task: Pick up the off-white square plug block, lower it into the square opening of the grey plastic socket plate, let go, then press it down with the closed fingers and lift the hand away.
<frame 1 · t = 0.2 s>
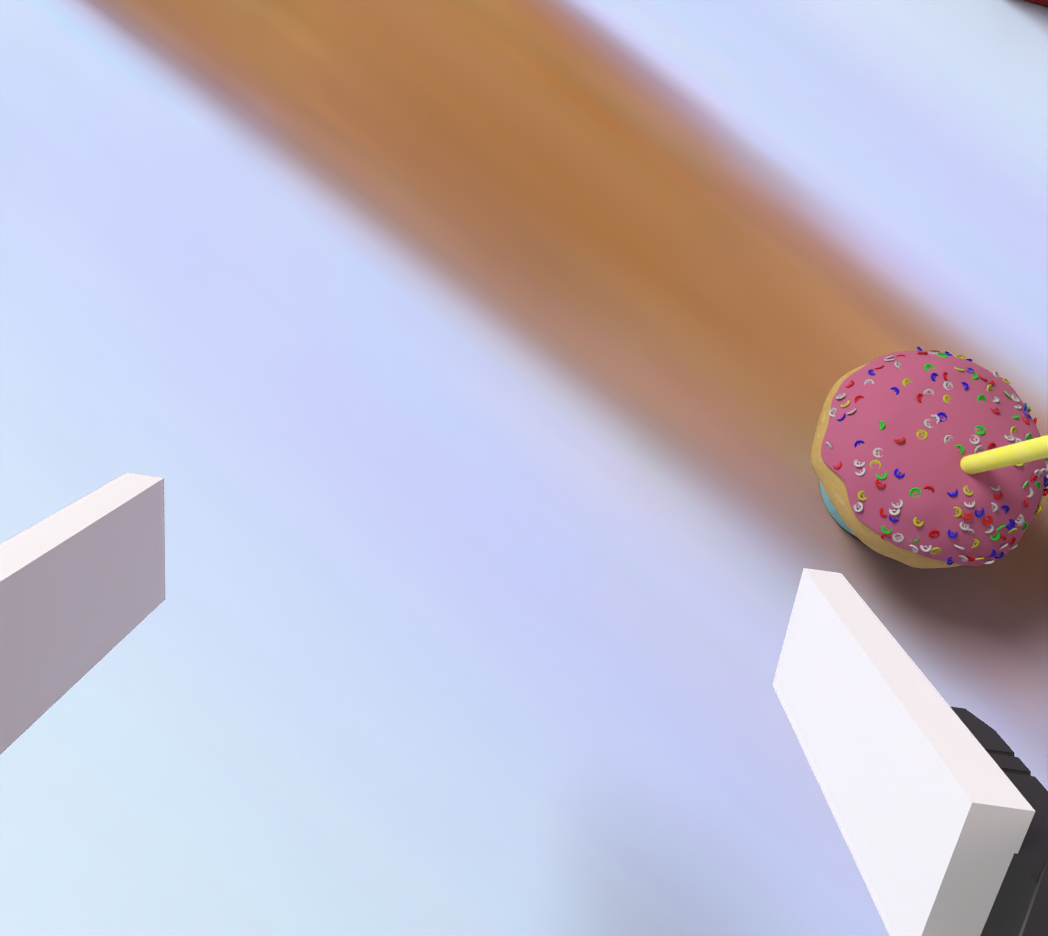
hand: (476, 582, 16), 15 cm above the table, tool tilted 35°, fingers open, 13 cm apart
cupcake: (867, 489, 33), on the table
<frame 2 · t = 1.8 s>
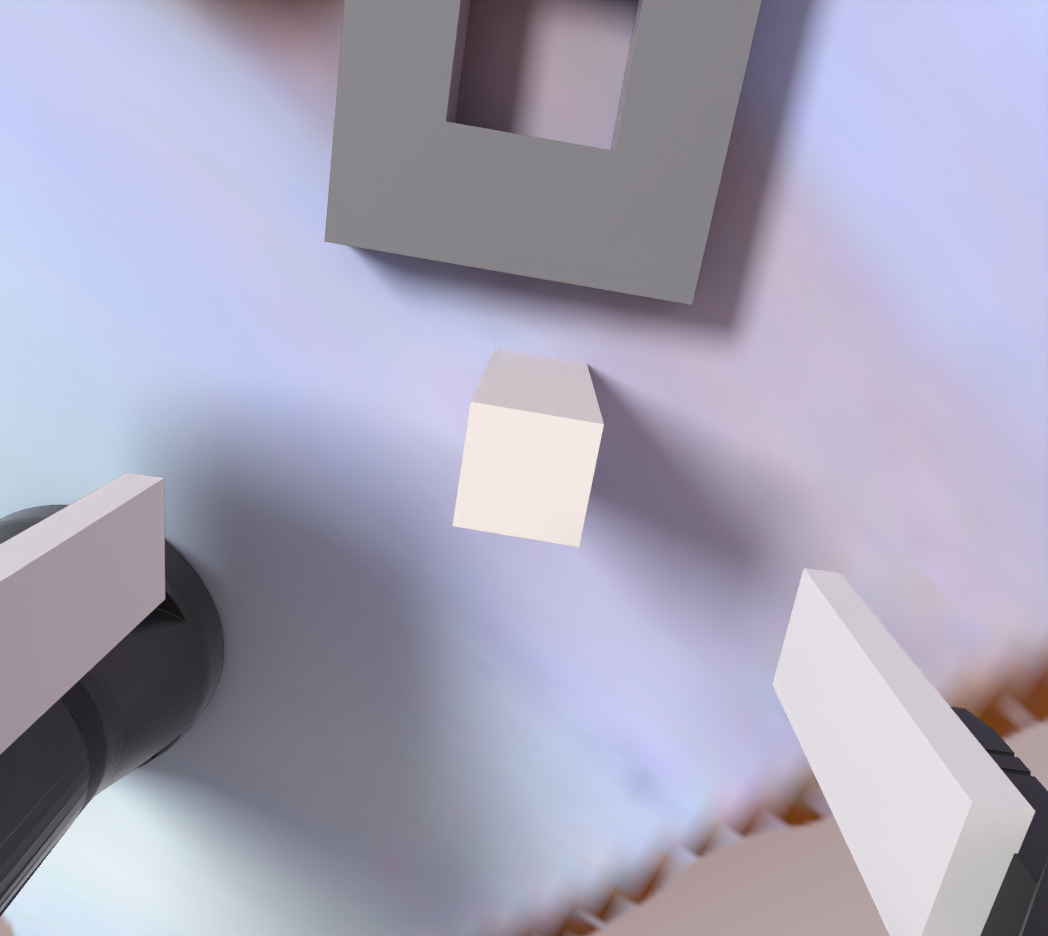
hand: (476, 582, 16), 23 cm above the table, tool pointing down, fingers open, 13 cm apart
socket: (545, 57, 33), on the table
plug: (533, 400, 38), on the table
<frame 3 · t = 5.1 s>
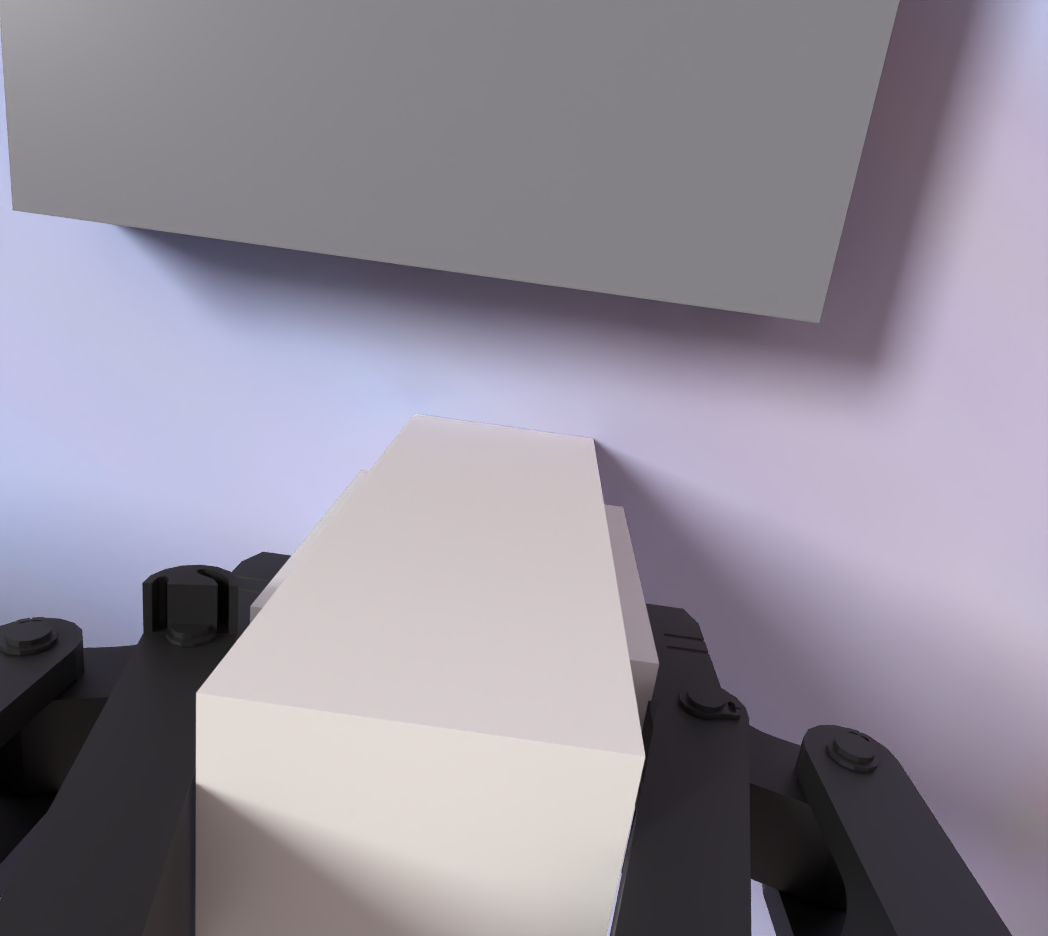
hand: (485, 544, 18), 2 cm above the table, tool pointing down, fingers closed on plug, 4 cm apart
plug: (492, 510, 20), on the table, touching gripper
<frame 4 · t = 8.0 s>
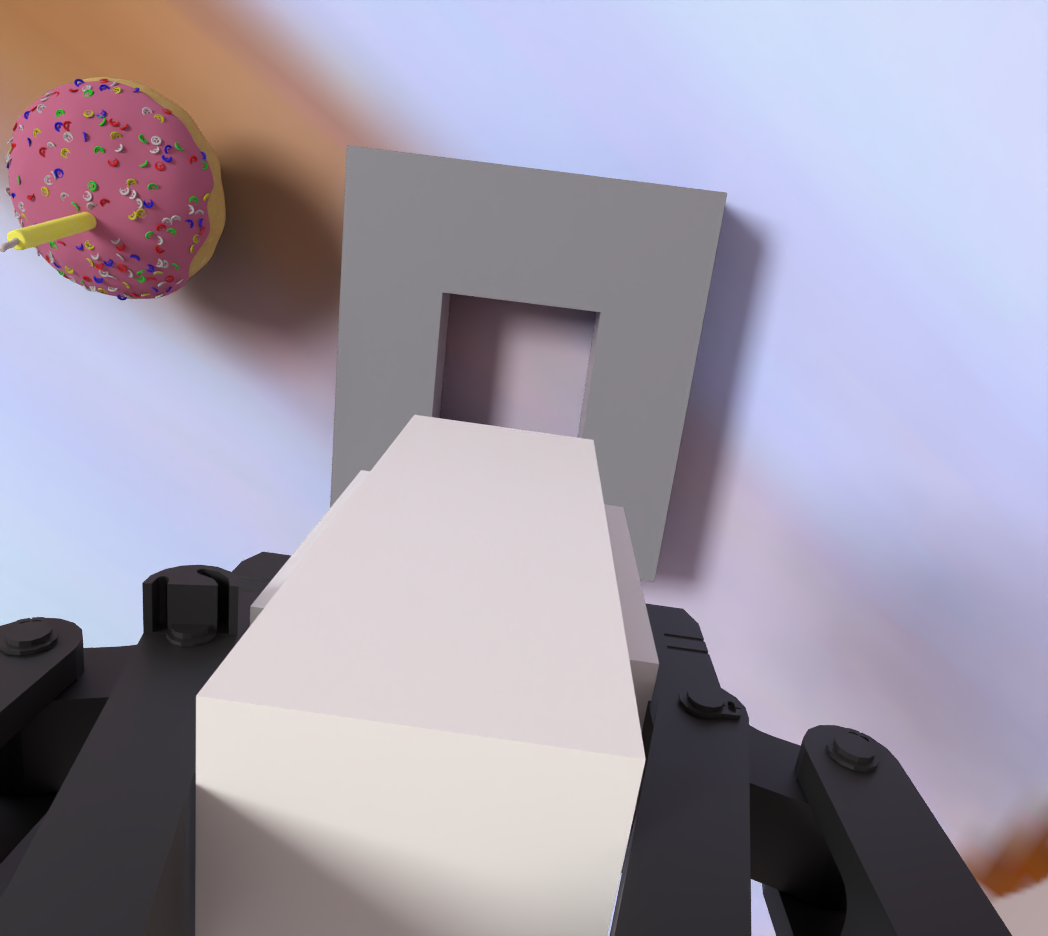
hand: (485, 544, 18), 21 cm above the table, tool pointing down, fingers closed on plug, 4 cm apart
socket: (515, 369, 37), on the table
cupcake: (171, 197, 36), on the table
plug: (493, 511, 20), point 19 cm above the table, touching gripper
when the fingers open (4 cm above the table, at t = 11.4 s): plug drops 2 cm, resting in socket.
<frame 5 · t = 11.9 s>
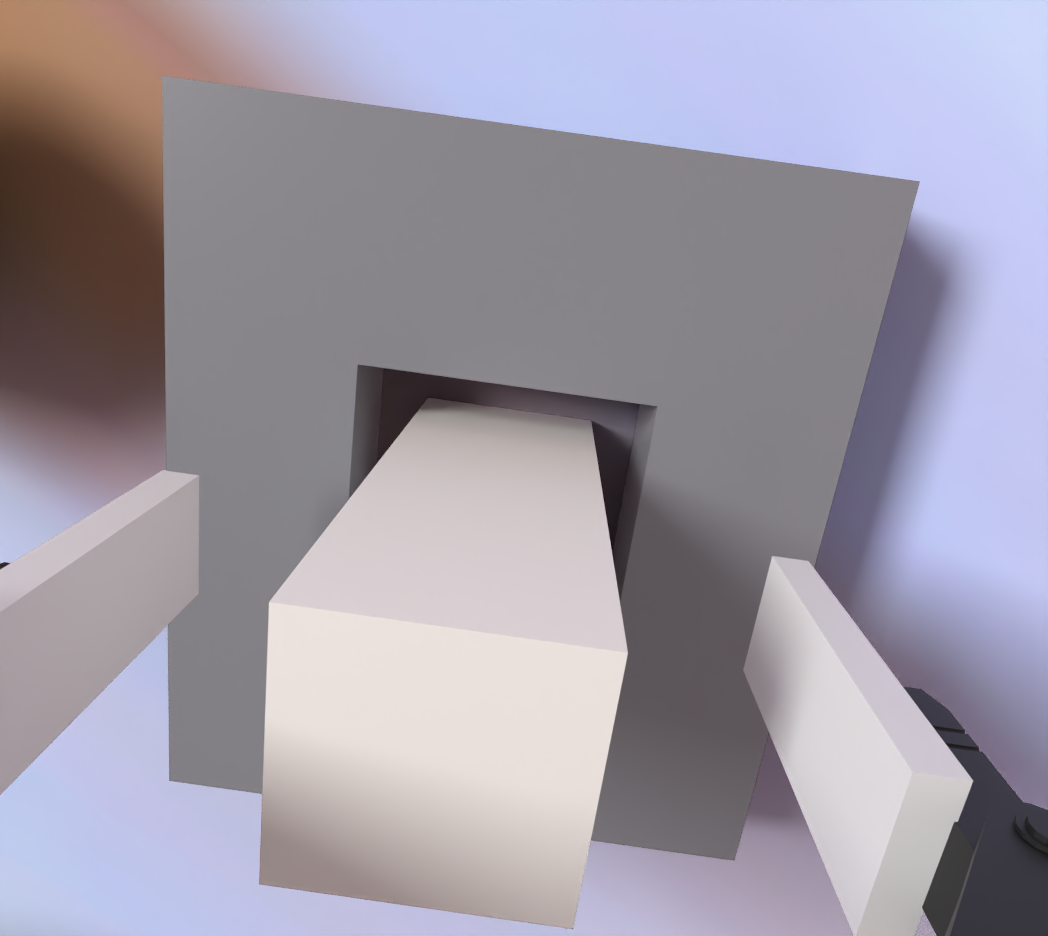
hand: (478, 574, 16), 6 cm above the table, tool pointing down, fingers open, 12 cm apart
socket: (498, 485, 22), on the table
plug: (499, 486, 22), resting in socket
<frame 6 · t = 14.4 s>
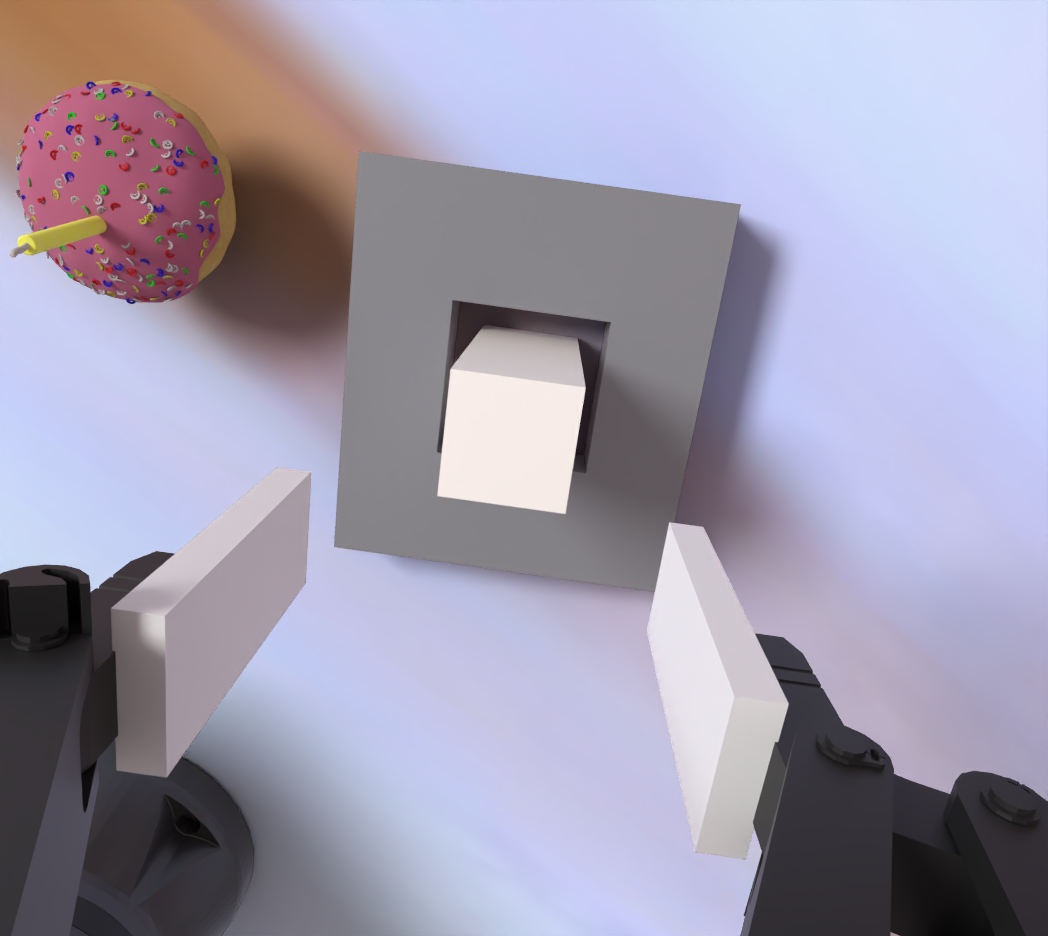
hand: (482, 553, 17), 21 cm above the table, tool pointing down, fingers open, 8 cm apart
socket: (524, 376, 37), on the table
cupcake: (181, 199, 36), on the table
plug: (524, 377, 37), resting in socket
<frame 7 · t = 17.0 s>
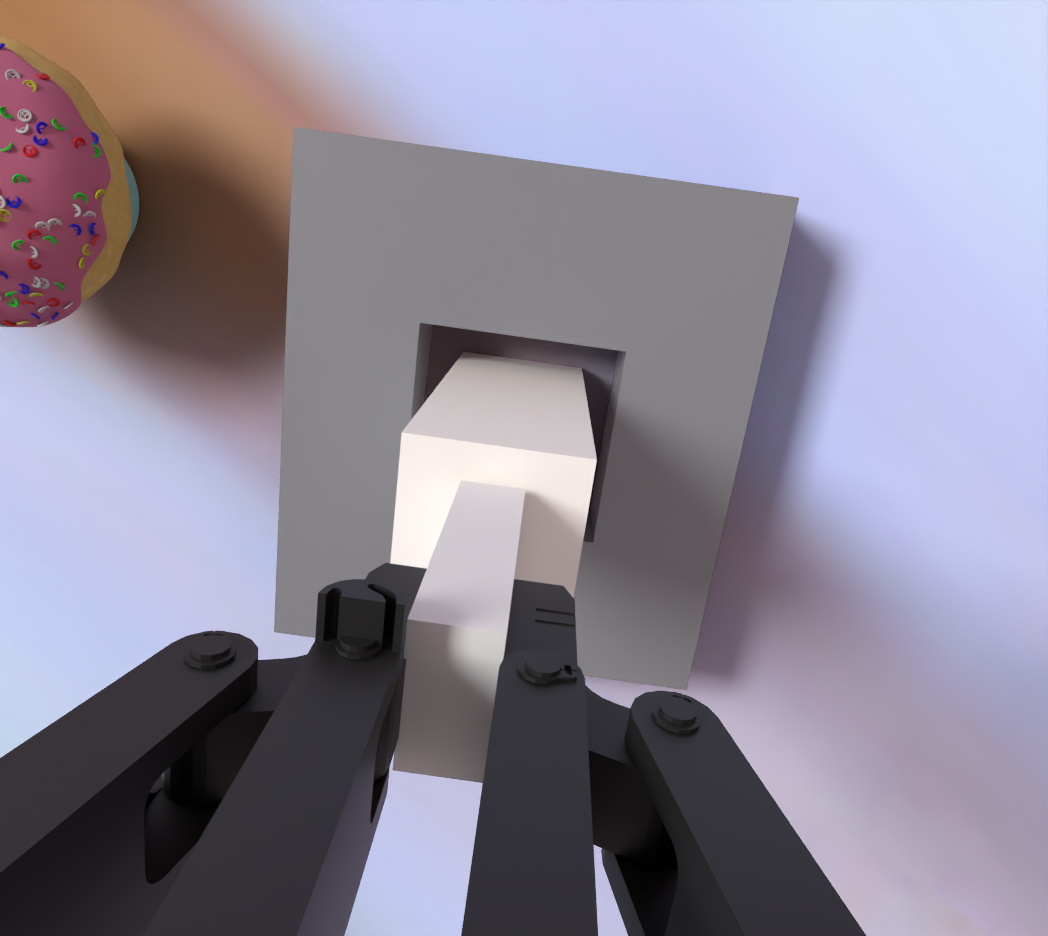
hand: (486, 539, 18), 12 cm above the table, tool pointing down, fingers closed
socket: (514, 416, 30), on the table
cupcake: (75, 192, 28), on the table
plug: (515, 417, 30), resting in socket, touching gripper
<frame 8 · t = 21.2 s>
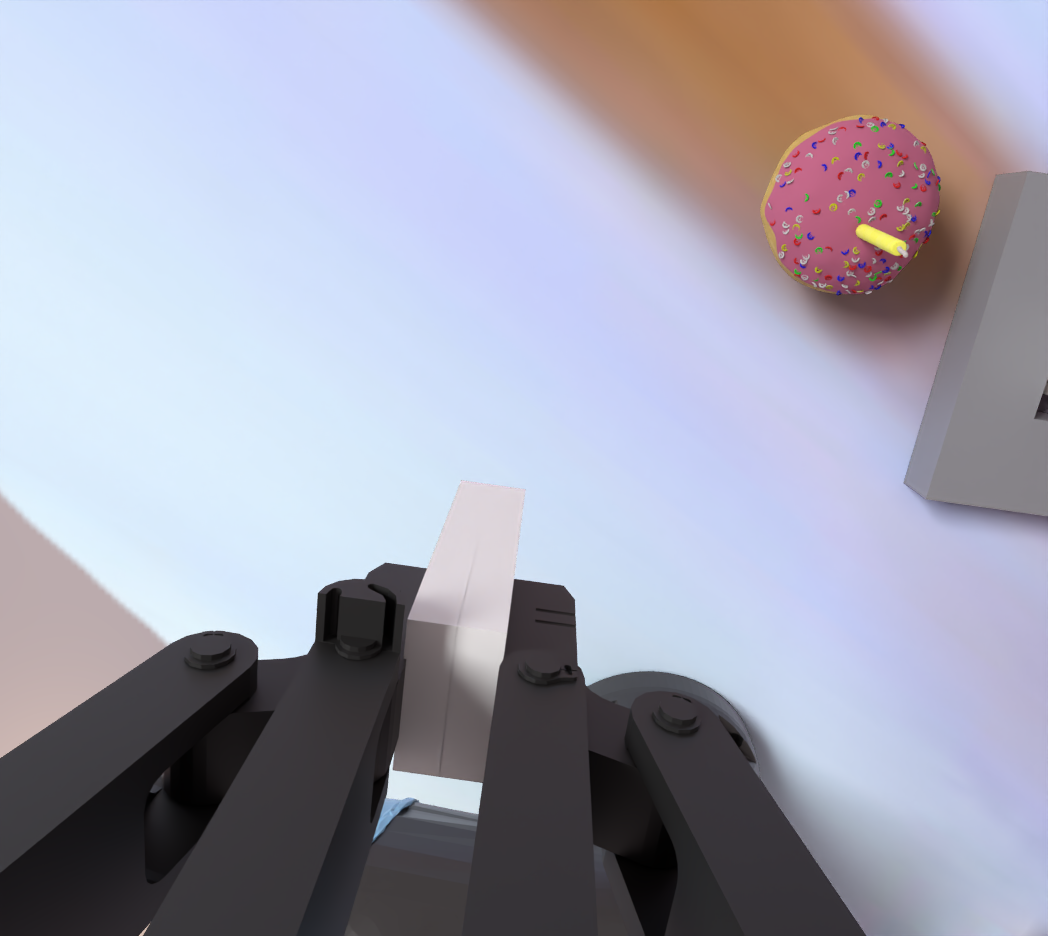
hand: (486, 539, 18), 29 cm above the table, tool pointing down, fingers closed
cupcake: (818, 209, 43), on the table
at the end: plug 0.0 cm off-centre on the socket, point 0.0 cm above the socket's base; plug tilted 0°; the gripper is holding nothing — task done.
